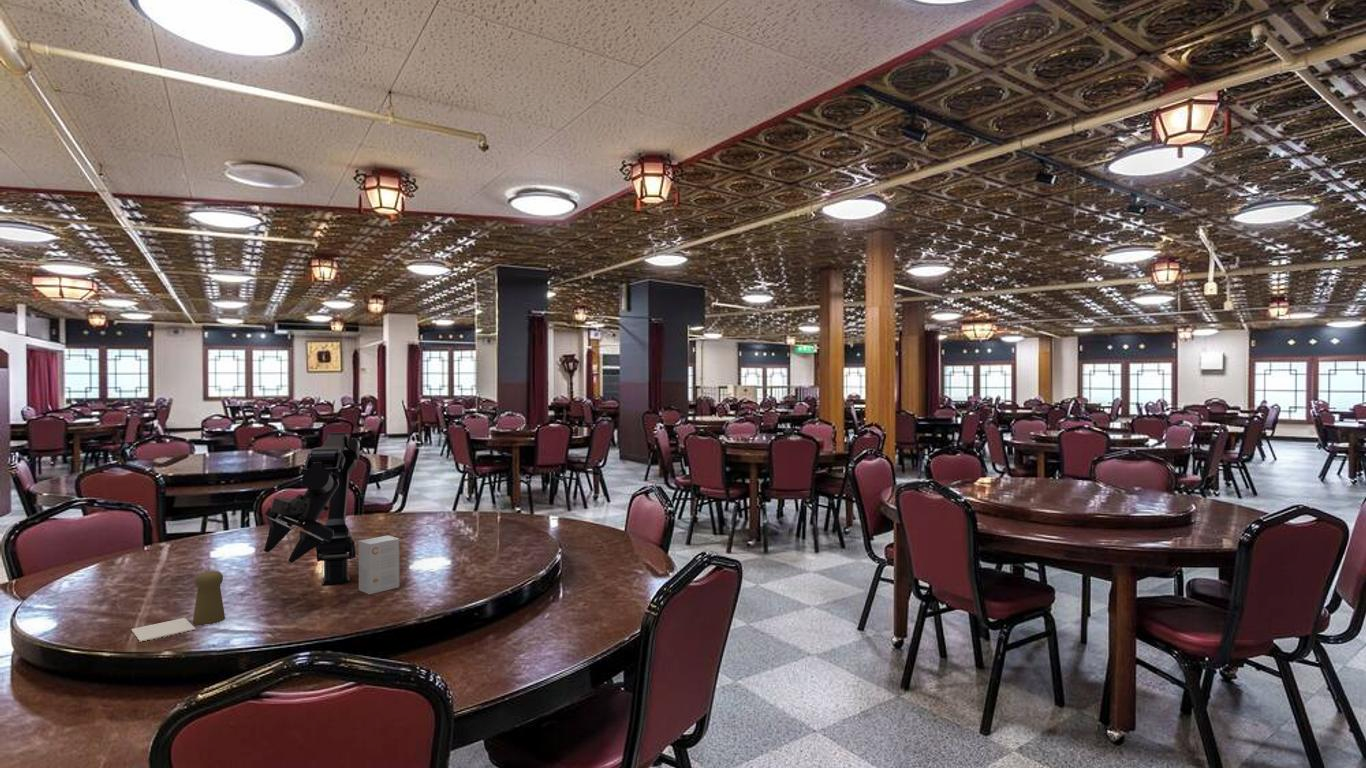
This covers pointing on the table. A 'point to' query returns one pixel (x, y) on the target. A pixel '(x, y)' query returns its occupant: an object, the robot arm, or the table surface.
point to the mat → (162, 629)
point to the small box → (378, 564)
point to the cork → (208, 598)
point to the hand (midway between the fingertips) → (277, 556)
